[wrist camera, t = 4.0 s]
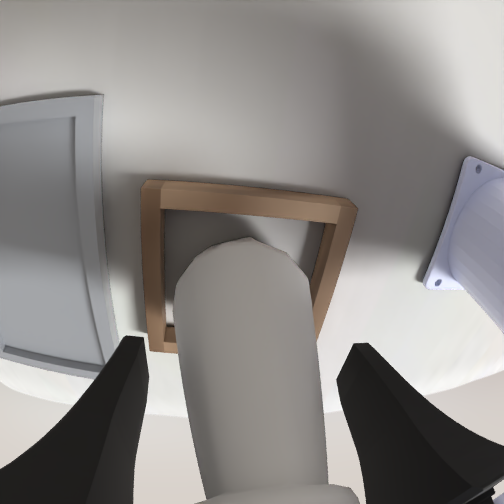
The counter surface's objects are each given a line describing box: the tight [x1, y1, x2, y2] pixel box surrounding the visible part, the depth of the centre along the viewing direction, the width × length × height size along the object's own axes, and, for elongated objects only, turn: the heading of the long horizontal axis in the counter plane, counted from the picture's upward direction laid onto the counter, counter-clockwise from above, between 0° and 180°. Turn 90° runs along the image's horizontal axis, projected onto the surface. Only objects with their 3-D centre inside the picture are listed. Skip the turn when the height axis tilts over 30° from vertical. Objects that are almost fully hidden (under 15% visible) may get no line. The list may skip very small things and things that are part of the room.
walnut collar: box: [141, 179, 358, 354], centre depth 15 cm, size 9×9×1 cm
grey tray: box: [0, 95, 120, 379], centre depth 13 cm, size 10×16×1 cm, turn 172°
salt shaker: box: [173, 237, 360, 504], centre depth 10 cm, size 6×6×13 cm
